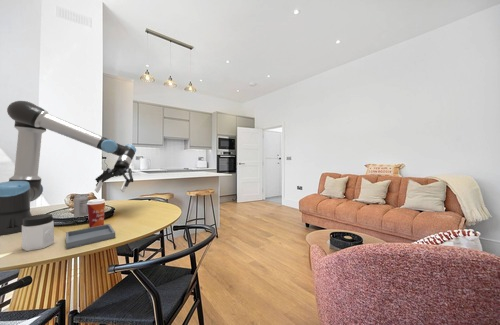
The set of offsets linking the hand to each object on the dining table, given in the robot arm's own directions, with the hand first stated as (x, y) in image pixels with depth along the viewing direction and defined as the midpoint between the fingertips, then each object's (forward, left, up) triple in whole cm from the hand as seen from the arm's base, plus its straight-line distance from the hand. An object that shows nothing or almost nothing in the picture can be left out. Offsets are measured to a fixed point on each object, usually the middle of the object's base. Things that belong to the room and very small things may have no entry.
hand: (109, 191), depth 110 cm
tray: (+6, -25, -17) cm, 30 cm away
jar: (-9, -31, -17) cm, 37 cm away
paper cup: (0, -11, -17) cm, 20 cm away
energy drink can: (-14, -1, -17) cm, 22 cm away
